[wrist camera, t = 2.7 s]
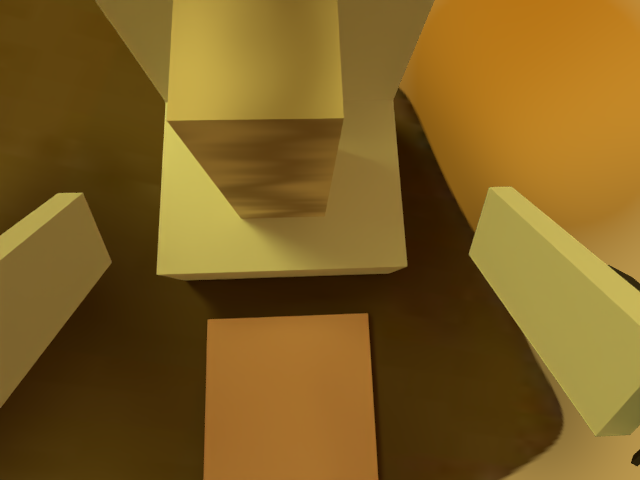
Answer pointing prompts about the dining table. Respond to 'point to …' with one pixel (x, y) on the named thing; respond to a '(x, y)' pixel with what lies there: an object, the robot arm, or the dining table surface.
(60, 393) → the dining table surface
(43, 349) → the robot arm
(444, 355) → the dining table surface
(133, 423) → the dining table surface
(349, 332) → the tile pad
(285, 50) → the maple block
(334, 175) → the l-shaped bookend
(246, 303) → the dining table surface
